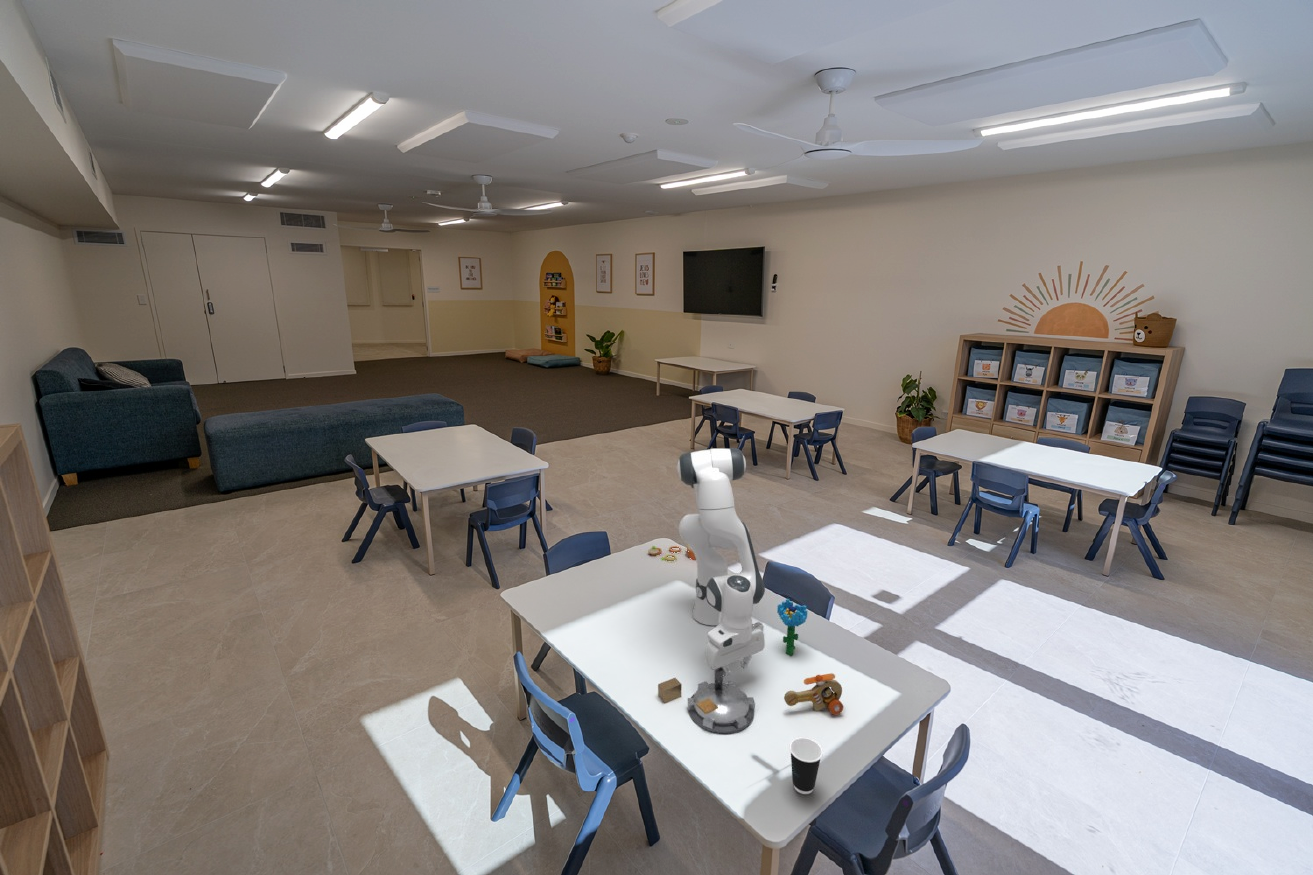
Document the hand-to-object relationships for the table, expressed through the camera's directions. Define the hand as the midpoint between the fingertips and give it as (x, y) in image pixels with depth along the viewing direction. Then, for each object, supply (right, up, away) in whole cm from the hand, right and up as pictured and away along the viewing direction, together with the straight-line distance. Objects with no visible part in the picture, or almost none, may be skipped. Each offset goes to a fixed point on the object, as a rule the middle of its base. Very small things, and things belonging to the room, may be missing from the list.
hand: (735, 670), depth 175 cm
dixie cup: (+12, -15, -33) cm, 38 cm away
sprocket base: (-5, -9, -7) cm, 12 cm away
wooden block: (-20, -7, -2) cm, 21 cm away
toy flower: (+21, -2, +20) cm, 29 cm away
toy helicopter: (+22, -9, -7) cm, 24 cm away
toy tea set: (-14, +14, +90) cm, 93 cm away
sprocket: (-5, -7, -8) cm, 12 cm away
